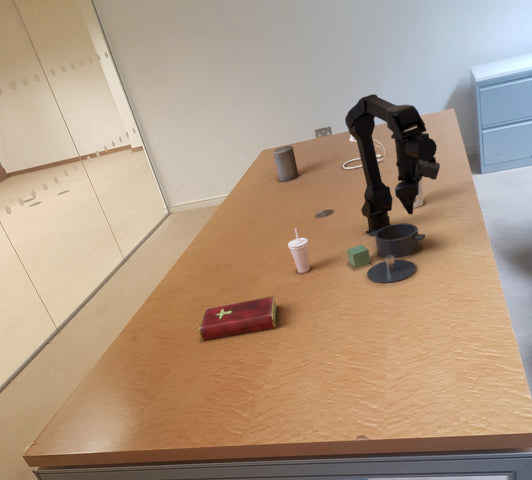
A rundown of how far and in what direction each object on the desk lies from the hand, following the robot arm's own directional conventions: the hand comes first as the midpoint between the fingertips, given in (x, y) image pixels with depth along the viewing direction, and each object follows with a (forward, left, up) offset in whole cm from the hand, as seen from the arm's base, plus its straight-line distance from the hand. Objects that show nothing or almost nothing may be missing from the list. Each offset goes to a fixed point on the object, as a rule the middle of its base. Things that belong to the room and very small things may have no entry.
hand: (412, 208), depth 166 cm
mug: (-20, +34, -13) cm, 41 cm away
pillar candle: (-101, +58, -13) cm, 117 cm away
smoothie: (-28, -22, -13) cm, 38 cm away
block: (-12, -14, -13) cm, 22 cm away
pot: (-5, -3, -13) cm, 14 cm away
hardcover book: (-25, -55, -13) cm, 62 cm away
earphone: (-71, +78, -13) cm, 106 cm away
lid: (+1, -17, -12) cm, 21 cm away
